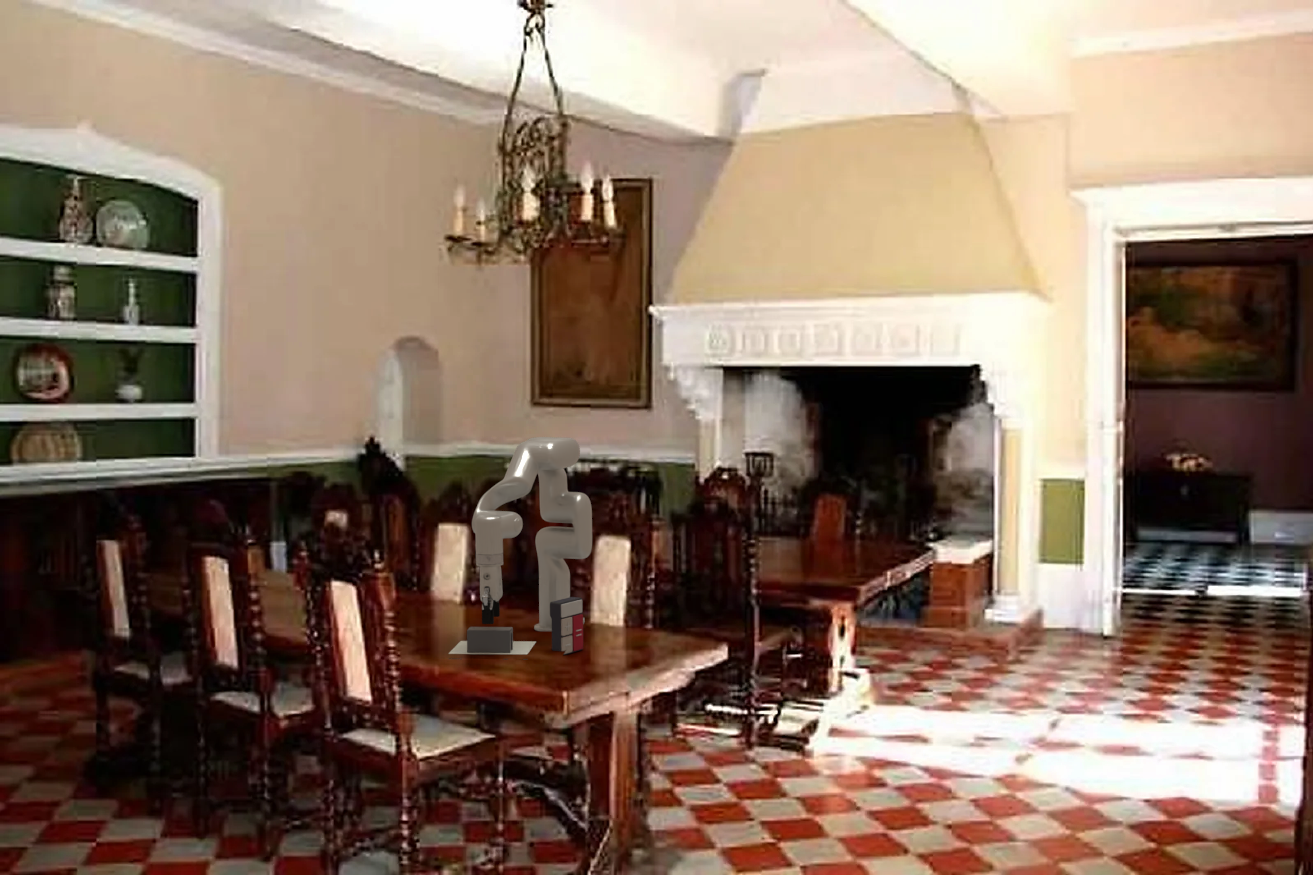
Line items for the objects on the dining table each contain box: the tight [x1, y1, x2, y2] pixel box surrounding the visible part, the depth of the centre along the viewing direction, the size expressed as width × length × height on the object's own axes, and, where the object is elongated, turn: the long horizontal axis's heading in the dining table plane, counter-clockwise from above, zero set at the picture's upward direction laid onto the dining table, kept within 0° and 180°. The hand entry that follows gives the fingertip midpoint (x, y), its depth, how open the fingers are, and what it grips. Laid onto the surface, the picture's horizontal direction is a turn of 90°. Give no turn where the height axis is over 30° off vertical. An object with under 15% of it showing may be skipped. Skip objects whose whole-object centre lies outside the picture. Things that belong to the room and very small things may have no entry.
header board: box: [448, 640, 537, 661], centre depth 394 cm, size 22×18×6 cm
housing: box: [466, 626, 514, 653], centre depth 389 cm, size 12×5×6 cm, turn 87°
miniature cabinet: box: [550, 596, 584, 656], centre depth 393 cm, size 11×4×15 cm, turn 148°
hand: (491, 620), depth 389 cm, fingers open, 9 cm apart
